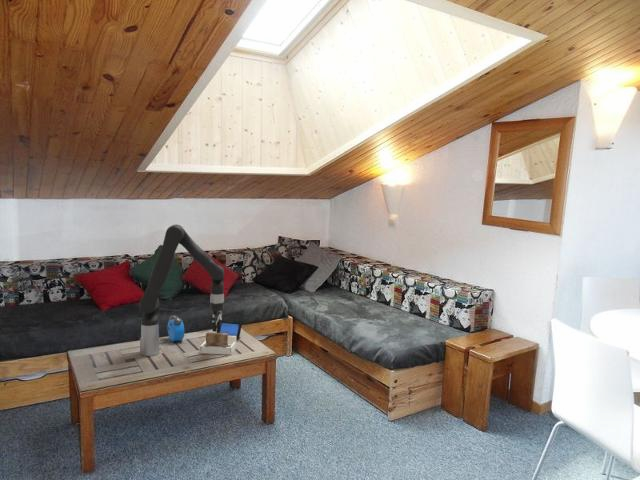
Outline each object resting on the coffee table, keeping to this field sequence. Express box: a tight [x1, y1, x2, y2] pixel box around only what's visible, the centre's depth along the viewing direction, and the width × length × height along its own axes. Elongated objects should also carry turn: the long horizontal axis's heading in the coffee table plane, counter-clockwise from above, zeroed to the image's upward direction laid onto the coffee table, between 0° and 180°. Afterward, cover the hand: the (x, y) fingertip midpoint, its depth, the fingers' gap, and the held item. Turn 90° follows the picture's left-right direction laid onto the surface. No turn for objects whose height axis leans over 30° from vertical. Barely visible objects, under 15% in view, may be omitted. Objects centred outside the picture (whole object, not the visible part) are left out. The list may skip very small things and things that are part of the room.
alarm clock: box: [167, 315, 185, 342], centre depth 290 cm, size 13×6×15 cm, turn 37°
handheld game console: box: [215, 320, 243, 342], centre depth 296 cm, size 16×13×9 cm
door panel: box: [205, 331, 228, 347], centre depth 272 cm, size 12×2×10 cm, turn 86°
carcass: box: [199, 336, 237, 356], centre depth 275 cm, size 18×12×7 cm
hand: (216, 329), depth 271 cm, fingers open, 8 cm apart
